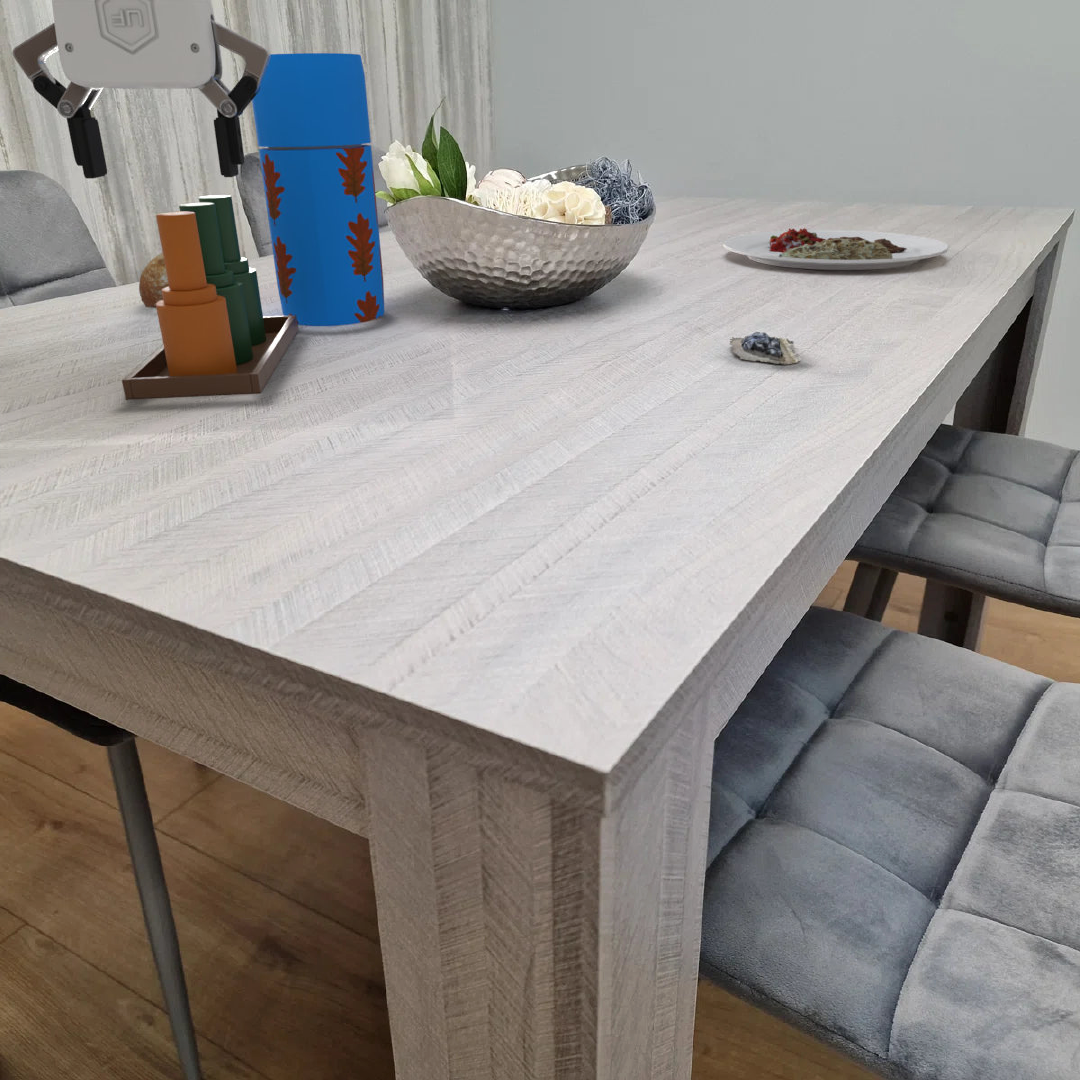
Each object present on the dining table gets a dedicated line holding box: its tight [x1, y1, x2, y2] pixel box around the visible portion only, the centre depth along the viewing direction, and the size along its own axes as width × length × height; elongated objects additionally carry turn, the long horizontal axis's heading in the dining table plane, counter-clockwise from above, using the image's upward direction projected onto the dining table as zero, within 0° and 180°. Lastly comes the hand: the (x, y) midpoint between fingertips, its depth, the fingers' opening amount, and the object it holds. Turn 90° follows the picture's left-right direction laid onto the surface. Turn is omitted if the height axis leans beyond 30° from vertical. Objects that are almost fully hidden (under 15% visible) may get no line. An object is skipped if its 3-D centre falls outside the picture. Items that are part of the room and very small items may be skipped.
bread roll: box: [138, 252, 169, 308], centre depth 109 cm, size 10×10×8 cm
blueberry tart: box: [729, 331, 802, 366], centre depth 83 cm, size 7×8×2 cm
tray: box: [121, 315, 299, 401], centre depth 82 cm, size 10×22×2 cm, turn 6°
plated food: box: [723, 227, 949, 271], centre depth 131 cm, size 30×30×3 cm
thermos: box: [251, 52, 385, 327], centre depth 94 cm, size 11×11×25 cm
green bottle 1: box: [178, 202, 253, 365], centre depth 80 cm, size 5×5×13 cm
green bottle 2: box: [198, 194, 266, 346], centre depth 86 cm, size 5×5×13 cm
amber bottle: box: [155, 211, 237, 376], centre depth 73 cm, size 5×5×13 cm
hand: (163, 176), depth 69 cm, fingers open, 9 cm apart
